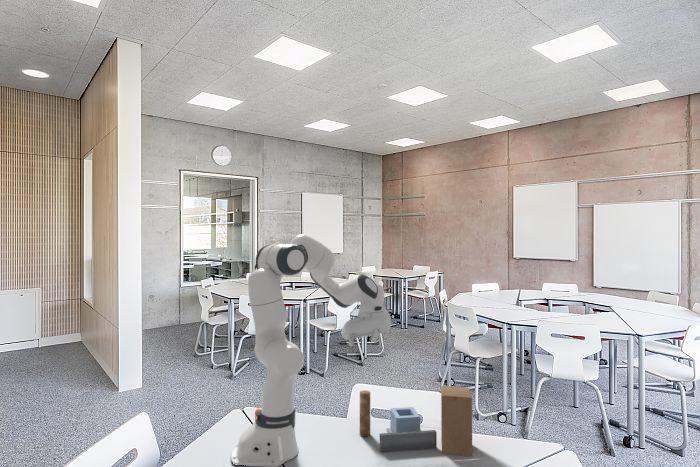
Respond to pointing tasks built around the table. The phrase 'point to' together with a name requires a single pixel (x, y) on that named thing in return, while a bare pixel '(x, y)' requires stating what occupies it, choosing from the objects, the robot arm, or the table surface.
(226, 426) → the table surface
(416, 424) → the blue hollow square block
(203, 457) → the table surface
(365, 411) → the dowel
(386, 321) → the robot arm
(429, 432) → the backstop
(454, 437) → the wooden block
